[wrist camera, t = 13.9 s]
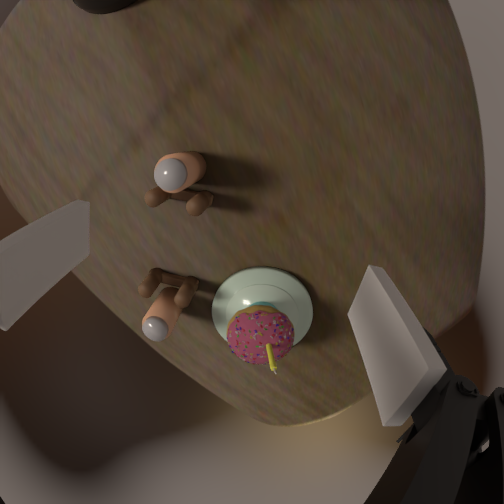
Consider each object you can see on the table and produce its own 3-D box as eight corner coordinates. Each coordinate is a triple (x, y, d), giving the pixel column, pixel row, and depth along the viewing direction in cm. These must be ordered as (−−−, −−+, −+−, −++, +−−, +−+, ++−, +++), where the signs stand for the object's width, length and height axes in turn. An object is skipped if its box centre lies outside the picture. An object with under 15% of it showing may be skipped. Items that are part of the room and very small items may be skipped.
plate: (207, 338, 44) (205, 343, 43) (222, 255, 39) (220, 259, 38) (295, 356, 44) (296, 361, 43) (325, 278, 39) (326, 283, 38)
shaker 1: (172, 179, 36) (148, 191, 28) (178, 148, 34) (153, 151, 27) (203, 185, 36) (185, 198, 28) (209, 154, 34) (192, 158, 27)
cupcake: (278, 280, 38) (279, 337, 27) (302, 328, 41) (309, 391, 29) (219, 303, 40) (201, 362, 29) (247, 347, 42) (240, 410, 31)
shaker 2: (158, 306, 43) (139, 338, 35) (160, 284, 41) (139, 313, 34) (184, 313, 43) (168, 347, 35) (186, 290, 41) (170, 322, 34)
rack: (151, 278, 41) (137, 295, 36) (161, 181, 36) (145, 188, 31) (197, 290, 41) (188, 309, 36) (214, 192, 36) (205, 200, 31)
